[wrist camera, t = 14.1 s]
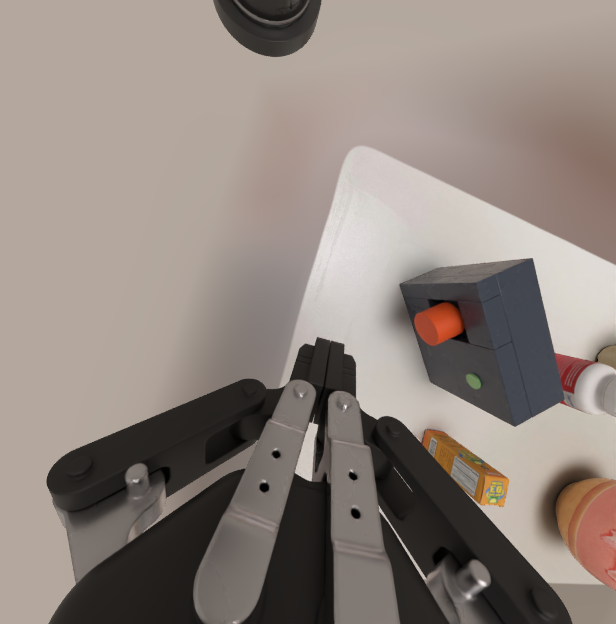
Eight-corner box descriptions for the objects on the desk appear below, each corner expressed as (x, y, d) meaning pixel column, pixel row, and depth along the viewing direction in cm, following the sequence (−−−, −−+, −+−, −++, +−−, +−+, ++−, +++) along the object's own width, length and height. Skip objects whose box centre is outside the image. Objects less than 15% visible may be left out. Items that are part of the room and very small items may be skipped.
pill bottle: (505, 376, 39) (603, 411, 28) (527, 340, 39) (632, 361, 28) (533, 397, 40) (636, 437, 30) (554, 362, 41) (664, 389, 30)
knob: (410, 311, 29) (432, 314, 26) (434, 301, 30) (459, 302, 26) (419, 342, 30) (442, 349, 26) (443, 331, 30) (469, 337, 27)
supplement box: (445, 429, 38) (513, 479, 28) (439, 453, 38) (504, 511, 28) (424, 426, 37) (487, 477, 27) (418, 450, 37) (478, 509, 27)
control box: (397, 284, 34) (473, 283, 23) (439, 267, 35) (533, 257, 24) (428, 383, 36) (512, 428, 25) (467, 364, 37) (565, 399, 26)
